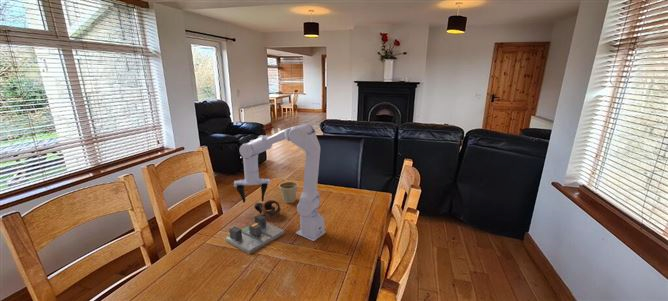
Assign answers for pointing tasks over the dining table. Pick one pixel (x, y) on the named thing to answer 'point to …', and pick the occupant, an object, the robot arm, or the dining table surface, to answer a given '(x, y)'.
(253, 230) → the breaker
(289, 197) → the flower pot
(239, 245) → the panel
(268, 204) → the pottery mug
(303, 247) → the dining table surface
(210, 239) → the dining table surface
